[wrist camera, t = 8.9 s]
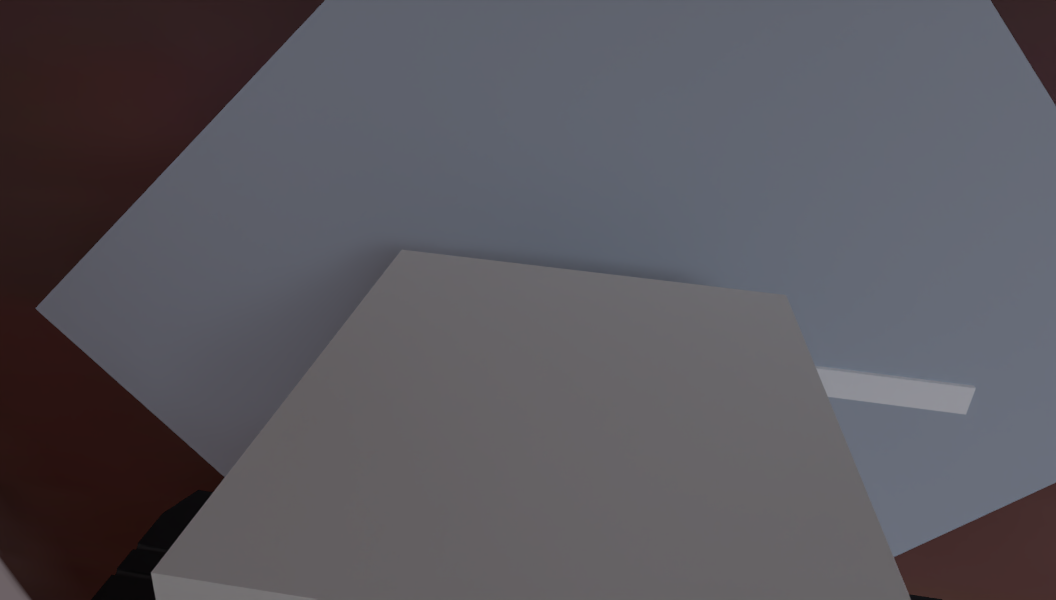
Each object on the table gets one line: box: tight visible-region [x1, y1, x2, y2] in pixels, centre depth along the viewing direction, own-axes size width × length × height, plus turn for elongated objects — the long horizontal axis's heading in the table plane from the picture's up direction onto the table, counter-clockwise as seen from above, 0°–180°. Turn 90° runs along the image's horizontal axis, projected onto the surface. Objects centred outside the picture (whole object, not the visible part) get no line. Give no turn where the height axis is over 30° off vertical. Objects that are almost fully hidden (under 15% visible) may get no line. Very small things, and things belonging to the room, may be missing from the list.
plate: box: [35, 0, 1056, 557], centre depth 14 cm, size 16×18×7 cm
